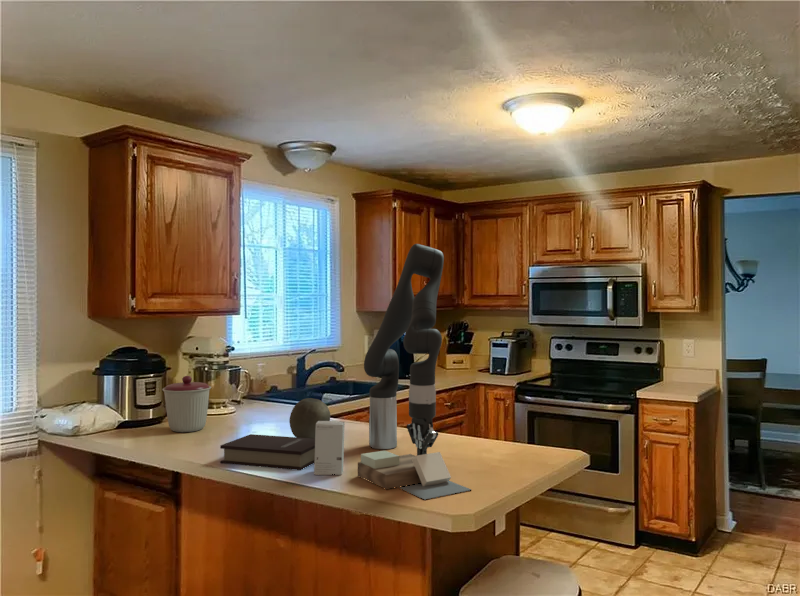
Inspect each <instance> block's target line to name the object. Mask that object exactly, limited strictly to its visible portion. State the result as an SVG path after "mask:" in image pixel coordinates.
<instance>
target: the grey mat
mask: <svg viewBox="0 0 800 596" xmlns="http://www.w3.org/2000/svg"><path fill="white" fill-rule="evenodd" d="M399 488H401V489H403V490H405V491H407V492H406V493H408V492H409V493H408V494H410V493H411V494H410V495H412V494H413V495H412V496H414V495H415V496H414V497H416V496H417V497H416V498H418V497H419V499H421V498H422V499H421V500H423V499H424V500H423V501H427V500H426V499H429V500H432V499H431V498H434V499H437V498H436V497H438V498H441V497H440V496H443V497H446V495H448V496H452V495H451V494H453V495H456V494H455V493H458V494H461V493H460V492H463V493H467V492H466V491H468V492H471V491H470V490H472V489H471V488H468V487H466V486H463V485H460V484H459V483H456V482H453V481H451V480H449V481H448V482H445V483H439V484H434V485H428V486H423V485H422V483H421V484H415V485H410V486H405V487H399ZM401 489H400V490H401ZM403 490H402V491H403ZM405 491H404V492H405Z"/></svg>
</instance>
